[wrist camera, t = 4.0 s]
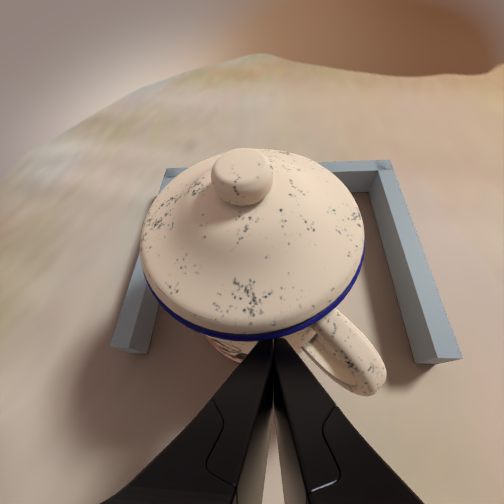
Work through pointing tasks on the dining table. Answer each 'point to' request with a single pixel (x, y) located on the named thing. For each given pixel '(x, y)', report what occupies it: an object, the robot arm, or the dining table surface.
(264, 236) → the teacup with lid
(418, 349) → the dock
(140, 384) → the dining table surface
